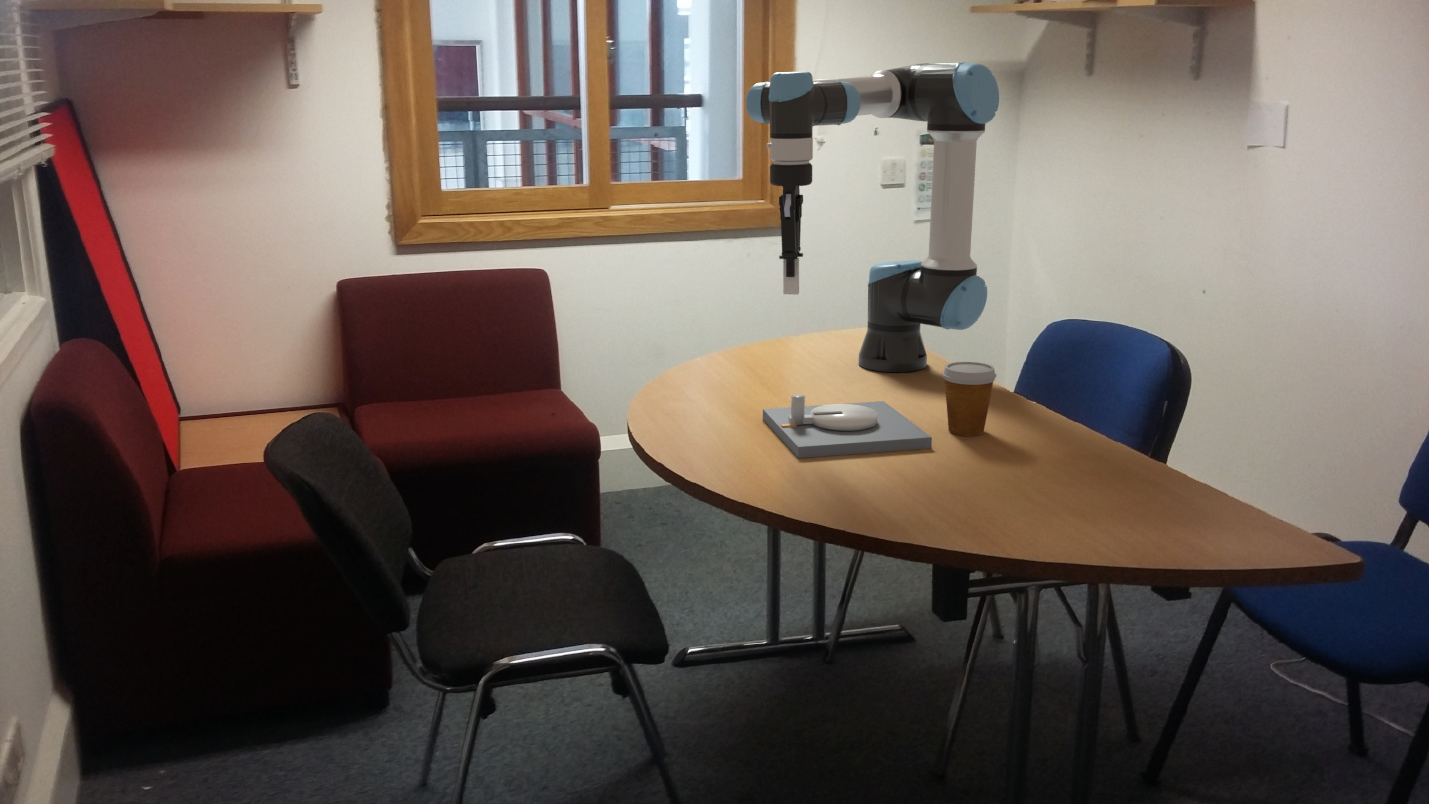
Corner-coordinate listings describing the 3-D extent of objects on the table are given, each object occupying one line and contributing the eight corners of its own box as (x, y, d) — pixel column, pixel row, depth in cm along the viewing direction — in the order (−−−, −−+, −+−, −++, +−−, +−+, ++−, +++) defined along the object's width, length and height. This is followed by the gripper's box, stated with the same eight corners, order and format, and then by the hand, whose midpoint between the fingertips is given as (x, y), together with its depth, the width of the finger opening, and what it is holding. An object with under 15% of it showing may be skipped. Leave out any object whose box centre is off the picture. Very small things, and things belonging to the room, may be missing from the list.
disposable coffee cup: (993, 440, 206) (997, 374, 203) (938, 437, 208) (942, 372, 204) (992, 425, 215) (996, 362, 212) (939, 422, 217) (942, 359, 213)
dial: (867, 410, 216) (868, 384, 215) (885, 428, 205) (886, 401, 204) (782, 414, 214) (783, 388, 213) (796, 433, 203) (796, 405, 202)
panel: (883, 411, 224) (883, 399, 224) (931, 448, 202) (931, 435, 201) (762, 419, 219) (762, 407, 219) (798, 458, 197) (798, 445, 196)
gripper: (775, 159, 213) (775, 286, 219) (764, 165, 200) (765, 300, 207) (815, 159, 211) (815, 287, 218) (808, 165, 199) (807, 301, 206)
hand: (791, 293), depth 212 cm, fingers closed
